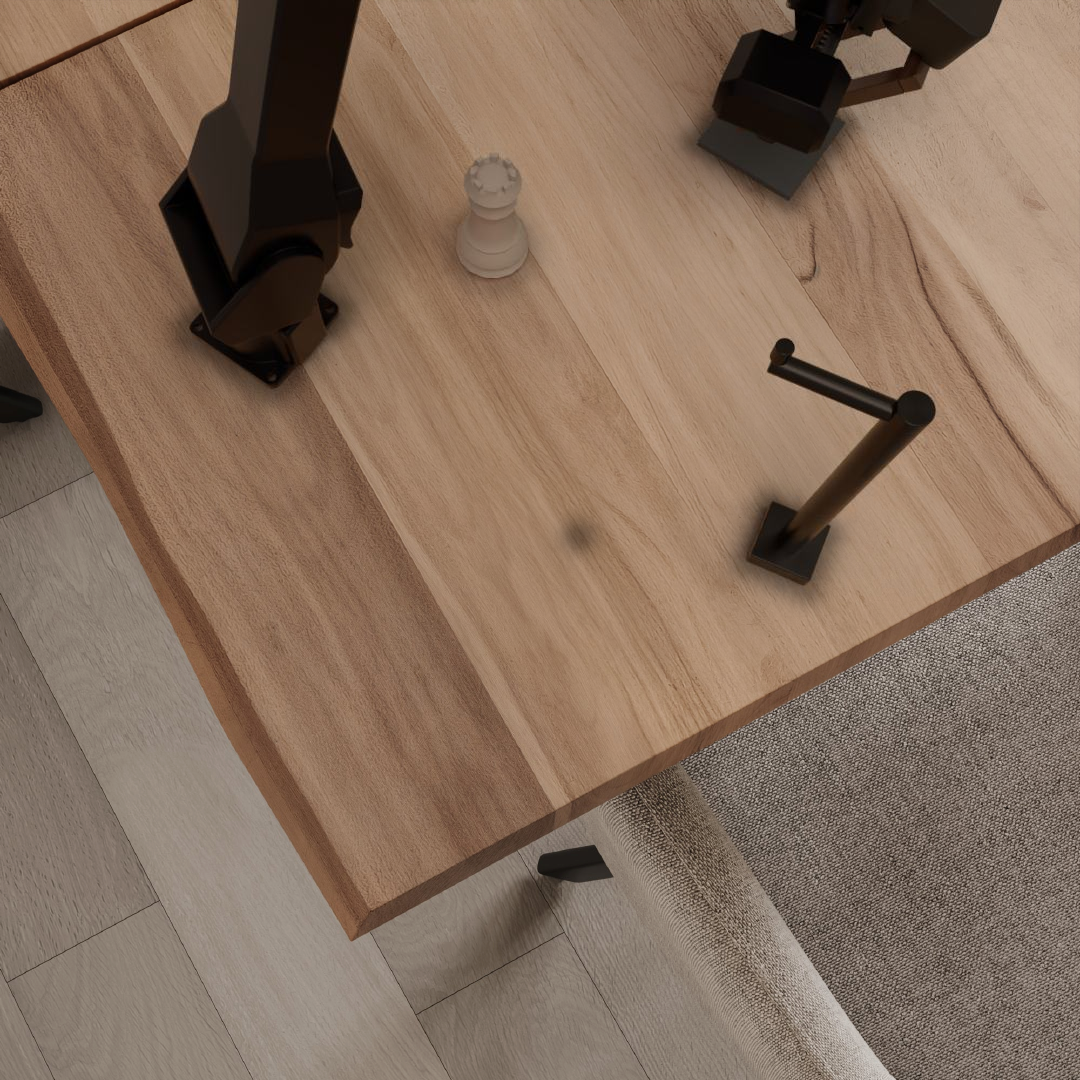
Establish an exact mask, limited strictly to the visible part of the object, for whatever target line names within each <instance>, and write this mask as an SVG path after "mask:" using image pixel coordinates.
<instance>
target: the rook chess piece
mask: <svg viewBox="0 0 1080 1080" xmlns="http://www.w3.org/2000/svg"><path fill="white" fill-rule="evenodd" d="M463 187H464V190H465V192H466V196H467V197H468V198H467V202H468V204H469V207H470V211H469V212H468V213H467V214H465V216H464V217H463V219H462V221H461V223H460V224H459V227H458V229H457V231H456V232H457V233H456V244H455V251H456V254H457V256H458V259H459V261H460V263H461V265H463V266H464V267H465V268H466V270H468V271H469V272H470V273H472V274H475V275H477V276H478V277H481V278H485V279H486V278H488V279H500V278H503V277H506V276H510V275H512V274H513V273H514V272H516V271H517V270H519V269H520V268H521V267H522V266H523V264H524V262H525V260H526V258H527V257H528V253H529V240H528V232H527V230H526V227H525V225H524V222H523V220H522V219H521V218H520V216H518V215H517V214H516V212H515V208H516V207H517V205H518V197H519V195H520V194H521V192H522V191H523V177H522V175H521V173H520V171H519V169H518V168H517V167H516V166H515V165H514V162H513V160H511V159H510V158H509V157H508V156H506V157H505V158H504V159H503V158H501V157H500V153H499V152H491V151H490V152H489V156H488V157H485V158H484V156H483V155H482V154H480V155H479V156H477V157H476V158H475V159H474V163H472V164H471V165H470V166H468V169H467V171H465V174H464V177H463Z"/></svg>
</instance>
